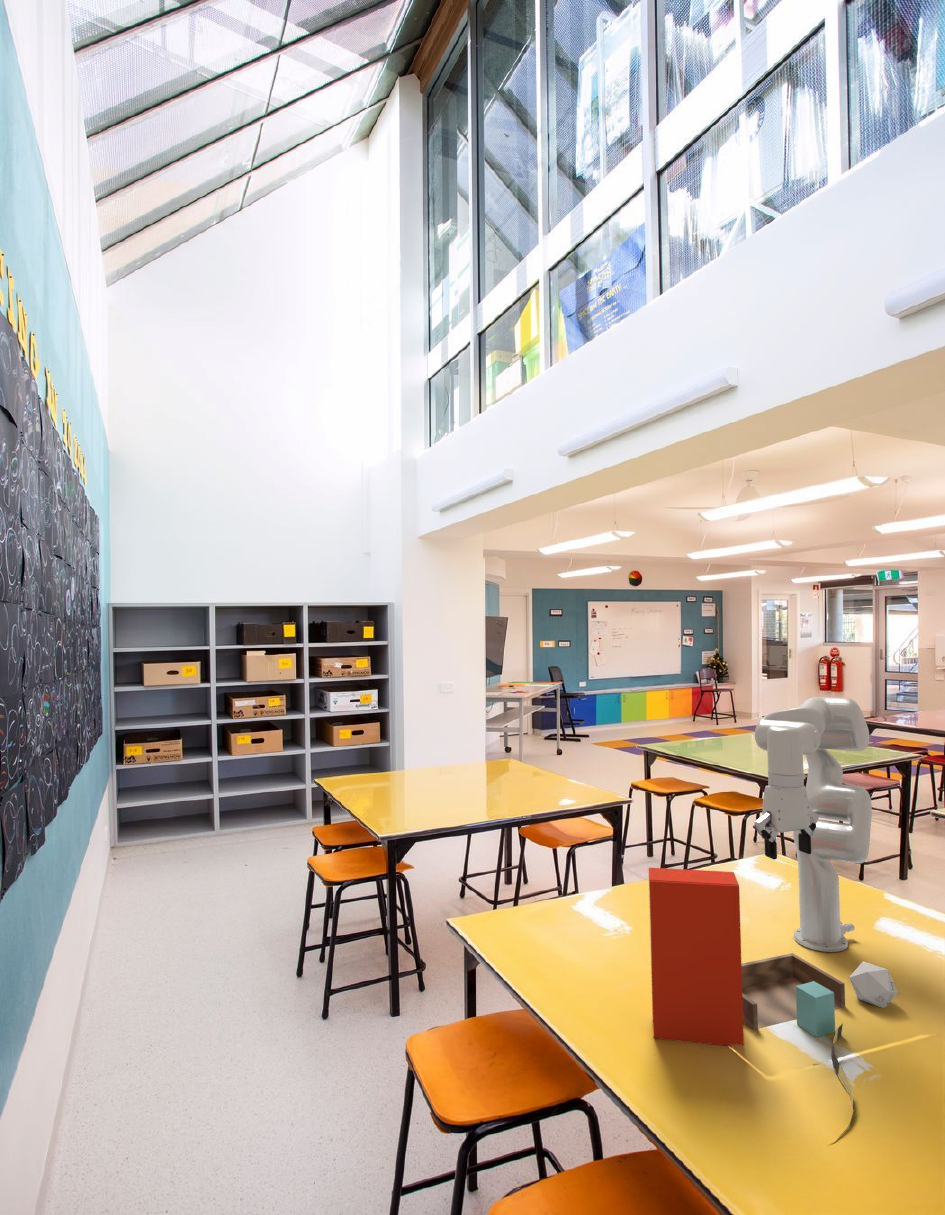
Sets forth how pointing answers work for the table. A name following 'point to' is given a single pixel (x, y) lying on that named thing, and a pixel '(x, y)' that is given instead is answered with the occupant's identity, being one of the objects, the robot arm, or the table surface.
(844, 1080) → the curved strip
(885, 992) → the die
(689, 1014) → the file binder
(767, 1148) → the table surface
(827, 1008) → the teal block
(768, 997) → the open box
